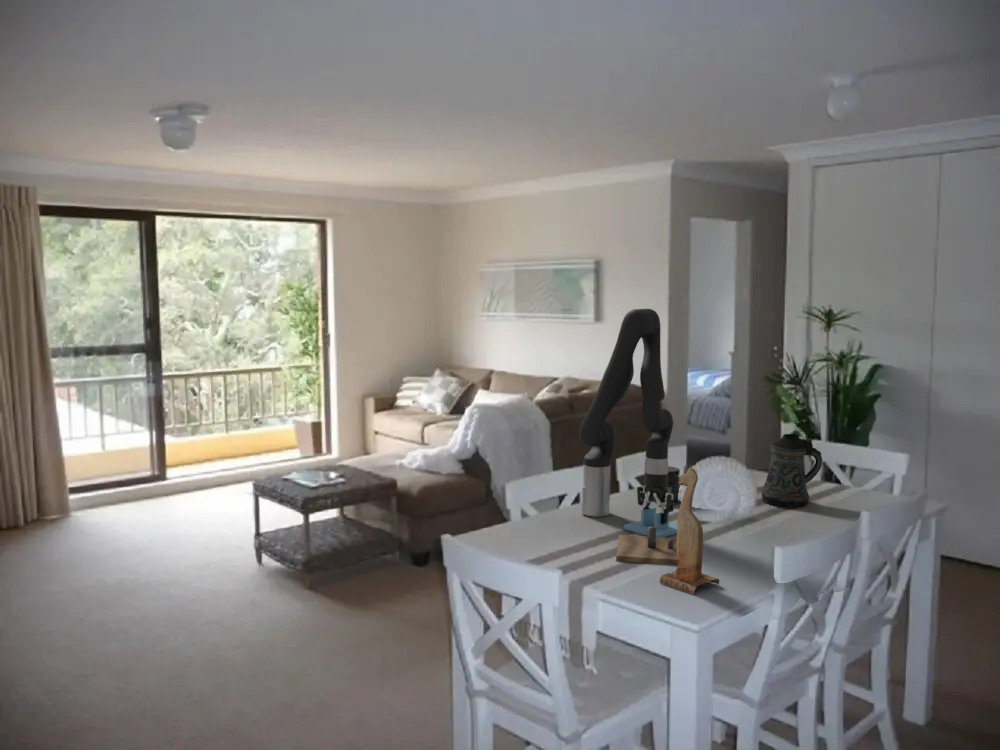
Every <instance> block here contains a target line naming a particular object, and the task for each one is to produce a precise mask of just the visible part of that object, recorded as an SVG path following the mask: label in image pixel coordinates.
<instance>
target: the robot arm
mask: <svg viewBox="0 0 1000 750" xmlns="http://www.w3.org/2000/svg"><path fill="white" fill-rule="evenodd" d="M640 340H642V342H643V357H642V363H641V366H640V373H639V381H640V382H639V383H640V388H641V393H642V403H641V416H640V417H641V423H642V426H643V428H644V429H645V430H646V431H647V432H649V433H652V434H651V436H650V437H649V438H648V439H647V440H646V442H645V459H644V473H643V479H644V480H643V483H644V485H645V486H644V485H641V486H638V487H636V490H637V491H636V492H637V505H638V506H640V507H642V510H645V509H649V508H650V506H651V504H652V503H656V504H657V508H659V510H660V512H661V524H662V525H664V524H666V523H667V520H668V512H669V513H671V512H672V513H673V511H674V507H675V503H674V500H675V494H670V493H668V492H667V489H666V488H667V485H668V466H669V444H670V443H669V442H670V440H671V435H672V431H673V427H674V419H673V415H672V413H671V412H670V410H668V409H666V408H661V402H662V401H663V400H664V399H665V395H666V394H665V387H664V381H663V374H662V365H661V364H662V363H661V321H660V316H659V314H658V313H657V312H656V311H655V309H654V310H653V309H652V308H638V309H631V310H629V311H627V313H625V315H624V316H623V319H622V322H621V326H620V329H619V332H618V336H617V340H616V342H615V343H616V344H615V346H614V349H613V351H612V353H611V356H610V358H609V362H608V364H607V366H606V369H605V370H604V373H603V375H602V378H601V381H600V384H599V387H598V388H597V391H596V393H595V396H594V397H593V400H592V403H591V405H590V407H589V408H588V410H587V412H586V414H585V416H584V418H583V420H582V421H581V424H580V427H579V431H578V436H579V441H580V442H581V443H582V445H584V446H585V447H591V448H590V450H589V452H588V453H586V454H585V455H584V457H583V465H582V466H583V467H582V468H583V471H582V472H583V474H582V475H583V478H582V480H583V482H582V484H583V485H582V493H581V495H582V496H581V497H582V498H581V501H582V502H581V505H582V506H581V515H582V516H583V515H584V516H588V517H593V518H594V517H595V518H597V517H598V518H600V517H607V516H609V515H610V511H611V509H610V508H611V507H610V506H611V505H610V503H611V463H612V462H611V461H612V458H613V456H614V444H615V429H614V425H613V423H612V421H611V420H610V419H609V418H607V417H608V416H609V414H610V413H611V411H612V410H613V409H614V408H615V407H616V406H617V405H618V404H619V403H620V402H621V401H622V400H623V398H624V397H625V396H626V394H627V392H628V390H629V388H630V386H631V383H632V381H633V378H634V372H635V371H634V353H635V350H636V348H637V346H638V343H639V342H640ZM665 497H666V498H665ZM666 499H667V501H666ZM662 501H663V503H661V502H662Z"/></svg>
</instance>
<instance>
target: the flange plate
mask: <svg viewBox="0 0 1000 750" xmlns="http://www.w3.org/2000/svg"><path fill="white" fill-rule="evenodd" d="M640 514H641V515H640V517H641V520H638V521H635V522H631V523H627V524H624V525H623V530H624V529H625V530H627V531H630V532H634V533H637V534H640V535H642V536H643V535H644V536H645V537H648V527H649V526H654V527H656V537H661V538H667V537H669V536H673V535H677V524H678V523H677V524H676V523H672V522H671V523H670V522H669V521H670V512H668V520H667V523H666V524H664V525H662V524H661V511H659V512H658V513H657V508H656V507H649V509H645V510H643V509H642V510H641V513H640Z"/></svg>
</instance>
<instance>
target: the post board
mask: <svg viewBox="0 0 1000 750" xmlns="http://www.w3.org/2000/svg"><path fill="white" fill-rule="evenodd" d="M617 540H618V541H617V547H616V555H615V557H616V558H615V561H616V562H629V563H646V564H657V565H659V564H660V565H673V566H674V565H675V566H678V564H679V560H678V556H677V537H676V538H675V537H663V538H661V537H656V527H654V526H649V527H648V536H645V535H644V536H643V535H642V536H641V535H624V534H623V535H622V534H619V535H618V539H617Z"/></svg>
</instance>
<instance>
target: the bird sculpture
mask: <svg viewBox="0 0 1000 750" xmlns="http://www.w3.org/2000/svg"><path fill="white" fill-rule="evenodd" d="M679 476H680V478H679V483H678V484H679V485H681V486H685V487H686V489H685V491H684V493H683V496H682V500H681V503H680V506H679V510H678V515H677V533H676V538H677V556H678V560H679V564H678V565H676V568H675V570H673V571H672V572H668V573H665V574H661V576H660V578H659V584H660V585H663V586H666V587H670V588H672V589H675V590H678V591H681V592H684V593H686V594H689V595H694V594H695V590H696V589H697V588H698V586H701V585H703V584H706V583H710V584H711V583H712V584H713V583H714V584H715V585H718V586H720V579H719V578H717V577H715V576H711V575H708V574H704V573H702V571H703V570H702V569H703V568H702V567H703V553H704V550H703V549H704V530H703V526H702V523H701V522H700V520H699V518H698V517H697V516H696V515H695V513H694V512H693V511H692V509H693V499H694V493H695V490H696V487H697V483H698V481H699V477H698V473H697V471H696V470H695V469H694V468H693V467H689V468H688V470H687V472H686V473H683V474H682V475H681V474H680V475H679Z"/></svg>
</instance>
